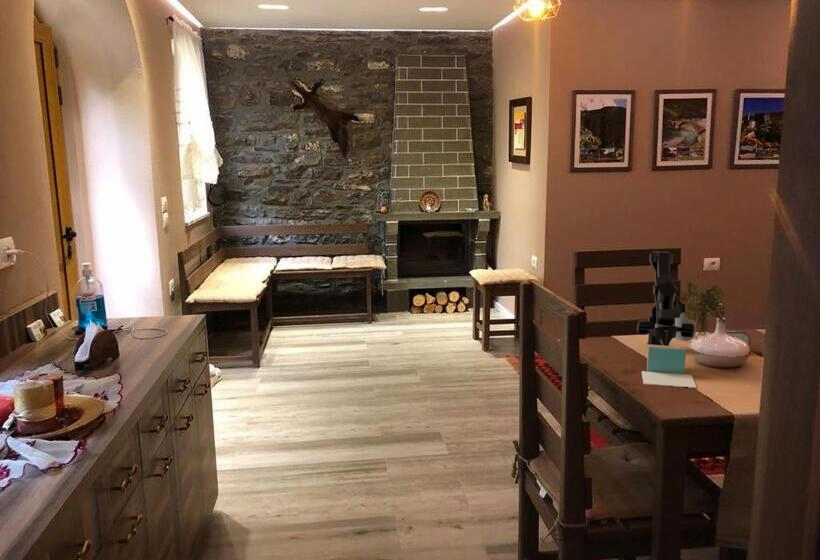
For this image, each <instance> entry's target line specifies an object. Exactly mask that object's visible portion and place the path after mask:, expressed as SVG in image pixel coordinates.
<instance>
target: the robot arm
mask: <svg viewBox="0 0 820 560" xmlns="http://www.w3.org/2000/svg"><path fill="white" fill-rule="evenodd" d="M673 256H674V254H673V253H672V252H671V253H670V251H655V250H654V251H652V252H651V253H649V263H650V267H651V268H650V269H651V270H652V271H653V273H654V284H653V286H652V289H653V290H652V294H653V295H654V306H653V308H652V309H651V312H650V315H648V320H642V319H641V320H639V321H637V326H636V327H637V328H636V333H637V335H641V336H643V335H644V336H646V335H648V340H647V343H646V345H647V346H648V345H664V346H670V343H671V341H672V340H673V338H676V333H677V332H681V336H683V337H693V334H694V330H695V327H694V324H693V323H682V326H675V318H680V308H676V307H674V302H675V298H676V296H677V295H678V294H679V289H678V288H677V286H676V285H675V281H674V279H673V278H672V277H670V276H671V275H670V267H671V264H673V263H674V261H673Z"/></svg>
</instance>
